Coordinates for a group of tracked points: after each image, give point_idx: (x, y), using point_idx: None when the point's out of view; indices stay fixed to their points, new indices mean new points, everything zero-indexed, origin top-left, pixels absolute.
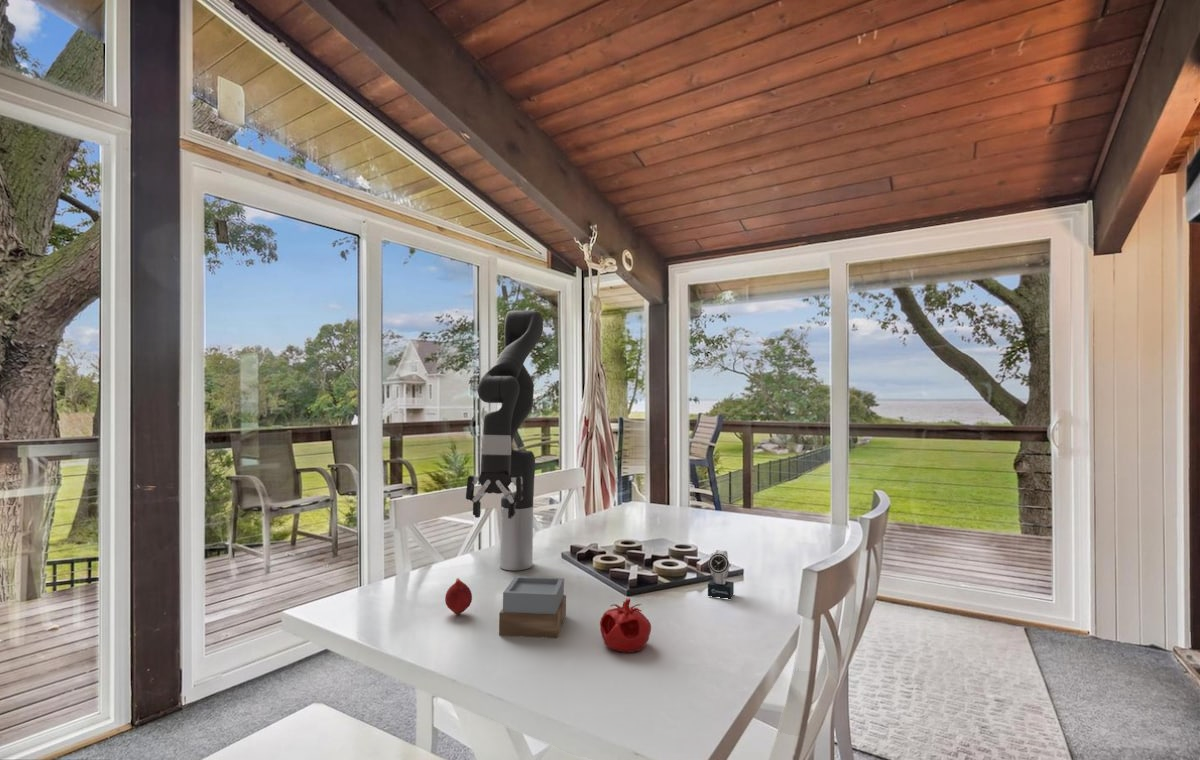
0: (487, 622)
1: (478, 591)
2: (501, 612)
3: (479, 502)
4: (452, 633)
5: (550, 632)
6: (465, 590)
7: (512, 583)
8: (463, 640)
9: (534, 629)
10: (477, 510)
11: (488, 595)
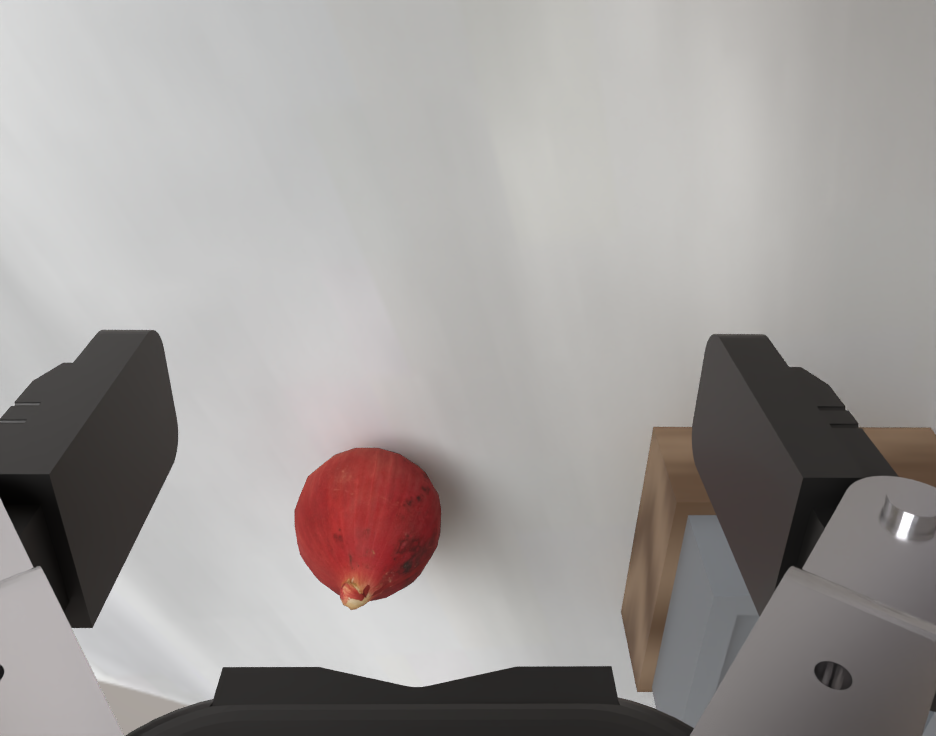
0: (545, 520)
1: (347, 99)
2: (646, 690)
3: (64, 539)
4: (429, 613)
5: None
6: (414, 579)
7: (706, 683)
8: (493, 652)
9: None
10: (137, 520)
11: (446, 173)
